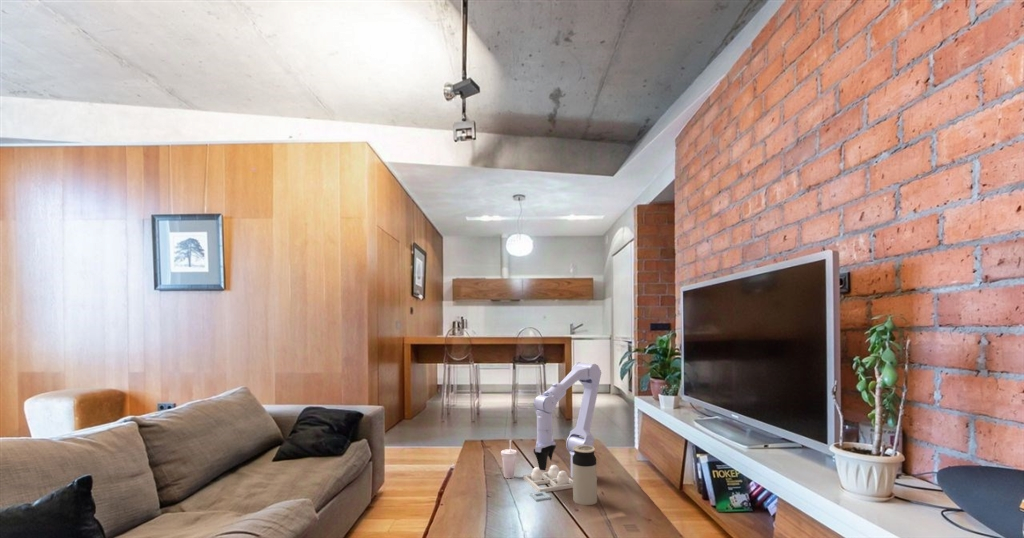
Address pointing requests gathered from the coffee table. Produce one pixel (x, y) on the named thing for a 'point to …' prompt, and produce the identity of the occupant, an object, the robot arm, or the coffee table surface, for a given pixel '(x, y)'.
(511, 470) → the smoothie
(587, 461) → the travel mug
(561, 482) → the white eggs
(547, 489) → the carton
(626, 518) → the coffee table surface
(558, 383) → the robot arm
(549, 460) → the brown egg
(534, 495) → the egg cup
